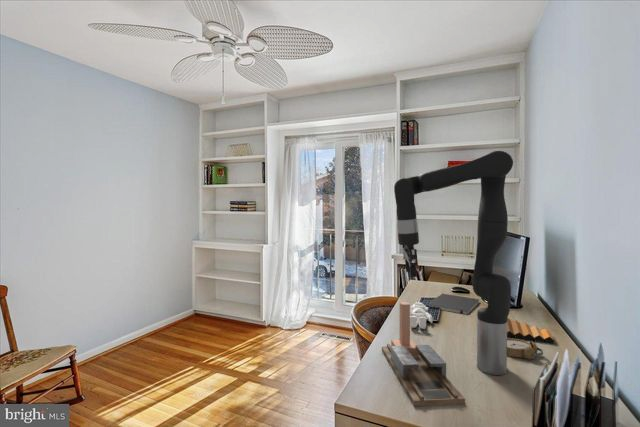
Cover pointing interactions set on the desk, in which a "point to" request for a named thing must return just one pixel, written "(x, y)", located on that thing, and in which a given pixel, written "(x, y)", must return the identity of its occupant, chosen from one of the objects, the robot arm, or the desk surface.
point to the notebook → (454, 303)
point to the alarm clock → (522, 349)
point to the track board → (426, 384)
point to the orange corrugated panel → (528, 332)
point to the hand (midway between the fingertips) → (411, 274)
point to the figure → (419, 315)
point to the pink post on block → (405, 330)
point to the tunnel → (406, 360)
